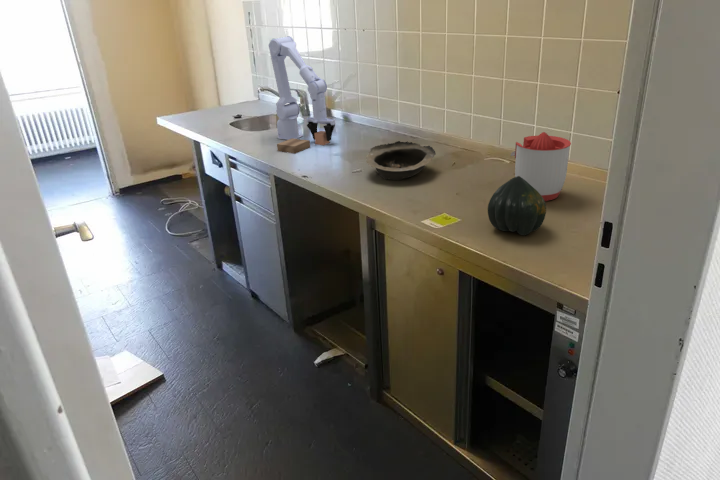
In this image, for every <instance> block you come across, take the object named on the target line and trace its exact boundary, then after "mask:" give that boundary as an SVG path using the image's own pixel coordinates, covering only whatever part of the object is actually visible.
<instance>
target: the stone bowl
mask: <svg viewBox="0 0 720 480" xmlns="http://www.w3.org/2000/svg"><path fill="white" fill-rule="evenodd" d="M435 156H436V150H435V149H434V148H433V146H431V145H428V146H426V145H424V146H423V145H420V144H419V143H416V142H411V141H401V140H398V141H397V140H396V141H395V142H392V143H387V144H386V143H384V144H380V145H375V146H373V147H371V148H370V150H369V151H368V154H367V155H365V159H366V164H368V165H369V167H371V168H374V169H375V171H376V172H377V174H378V175H379V176H380V177H382V178H383V179H385V180H393V181H402V180H404V179H408V178H410V177H413V176H415V175H417V174H419V173H420V172H421V171H423V170H424V168H425V167H426V166H427V165H428V164H429V163H430V162H432V161H433V159H434V158H435Z"/></svg>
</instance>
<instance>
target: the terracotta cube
mask: <svg viewBox="0 0 720 480" xmlns="http://www.w3.org/2000/svg"><path fill="white" fill-rule="evenodd" d="M314 135H315V140H314V141H315V142H314V143H315V145H319V146H326V145H328V144H330V143H331V142H330V141H331V140H330V141H327V139H326V132H325V130H319V131H317V132H316V133H314Z"/></svg>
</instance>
